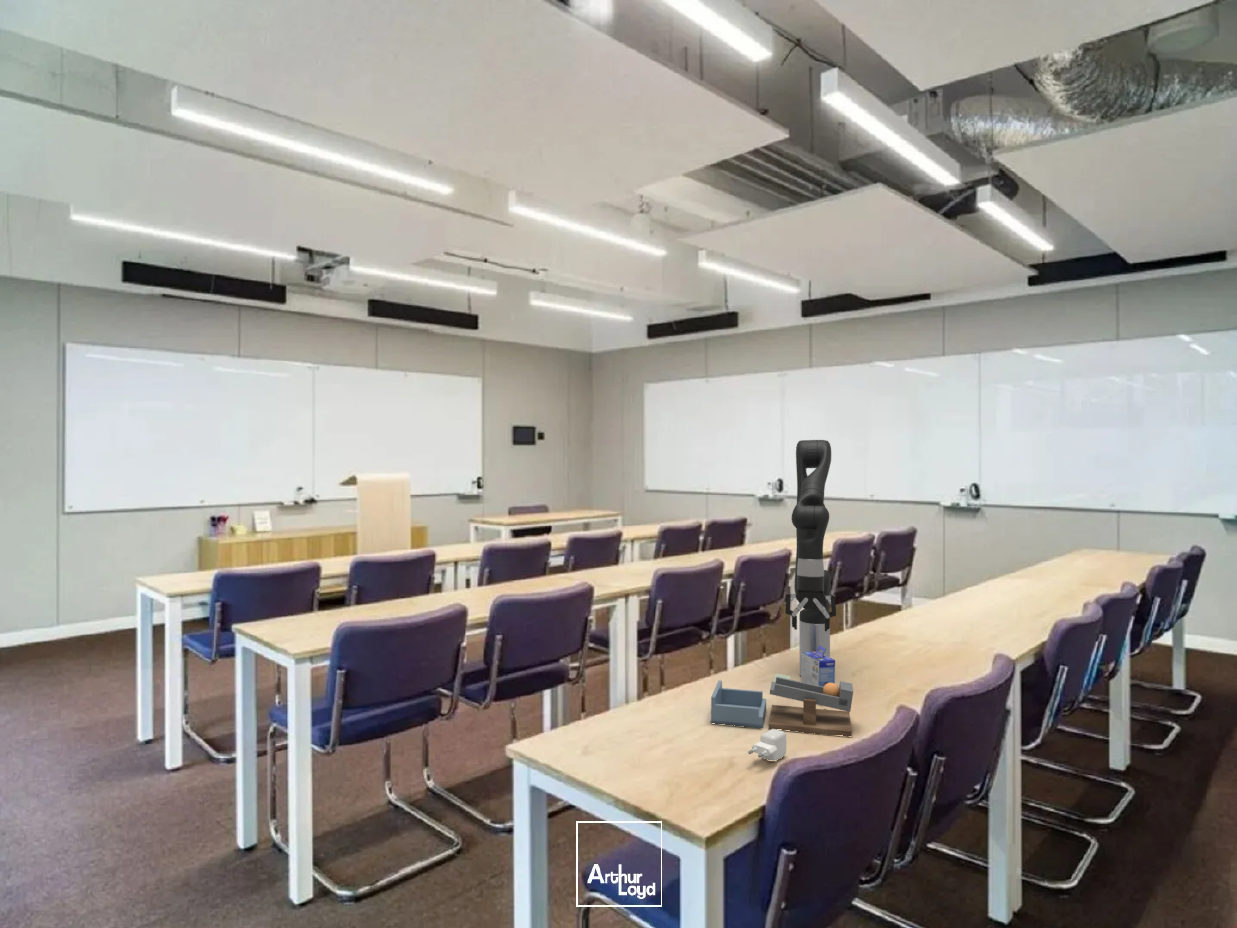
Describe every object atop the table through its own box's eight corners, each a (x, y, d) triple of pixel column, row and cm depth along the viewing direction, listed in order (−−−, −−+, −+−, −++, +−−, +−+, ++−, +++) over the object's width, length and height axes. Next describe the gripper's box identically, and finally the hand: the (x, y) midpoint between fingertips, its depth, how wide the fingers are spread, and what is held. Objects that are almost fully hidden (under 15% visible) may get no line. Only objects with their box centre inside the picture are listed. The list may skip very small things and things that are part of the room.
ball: (821, 692, 187) (825, 678, 186) (836, 698, 186) (841, 683, 185) (821, 697, 183) (825, 683, 183) (837, 703, 182) (841, 688, 182)
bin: (718, 705, 199) (718, 680, 199) (766, 709, 196) (766, 684, 195) (711, 724, 186) (711, 697, 185) (762, 728, 182) (762, 701, 182)
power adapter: (763, 772, 157) (763, 746, 157) (744, 766, 161) (744, 740, 161) (789, 756, 166) (789, 731, 165) (770, 751, 169) (770, 726, 169)
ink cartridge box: (836, 703, 200) (836, 651, 200) (818, 705, 199) (818, 653, 199) (817, 691, 210) (817, 642, 210) (800, 693, 209) (800, 643, 208)
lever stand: (772, 710, 195) (771, 682, 195) (849, 717, 190) (849, 688, 190) (768, 729, 182) (768, 699, 182) (851, 737, 176) (851, 706, 176)
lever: (772, 680, 199) (775, 658, 199) (847, 696, 194) (850, 674, 194) (768, 698, 185) (772, 674, 184) (849, 716, 179) (853, 692, 179)
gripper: (835, 573, 212) (835, 629, 211) (786, 571, 215) (786, 626, 215) (836, 576, 205) (836, 633, 204) (785, 574, 208) (785, 630, 208)
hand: (810, 629), depth 209 cm, fingers open, 8 cm apart
